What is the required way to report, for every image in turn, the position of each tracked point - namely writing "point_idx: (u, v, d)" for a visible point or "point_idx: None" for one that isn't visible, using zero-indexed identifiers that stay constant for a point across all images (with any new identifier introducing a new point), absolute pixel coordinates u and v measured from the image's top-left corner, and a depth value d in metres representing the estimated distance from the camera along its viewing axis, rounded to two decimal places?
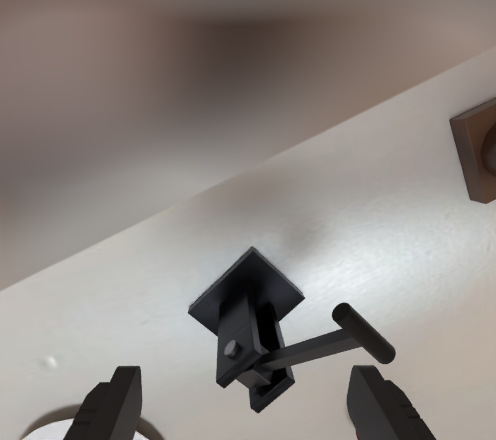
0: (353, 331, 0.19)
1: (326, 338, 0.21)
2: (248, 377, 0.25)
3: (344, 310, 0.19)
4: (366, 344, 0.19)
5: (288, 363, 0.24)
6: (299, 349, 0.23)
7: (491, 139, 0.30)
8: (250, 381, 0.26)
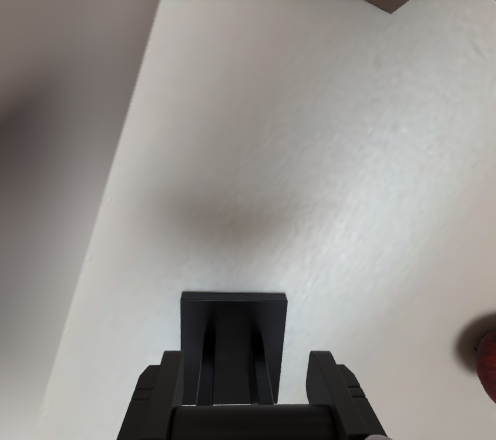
0: None
1: None
2: None
3: None
4: None
5: None
6: None
7: None
8: None
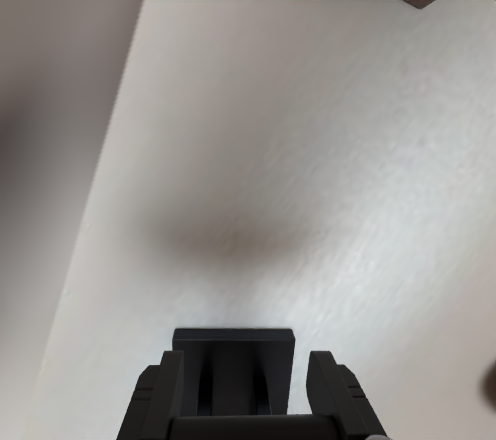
0: None
1: None
2: None
3: None
4: None
5: None
6: None
7: None
8: None
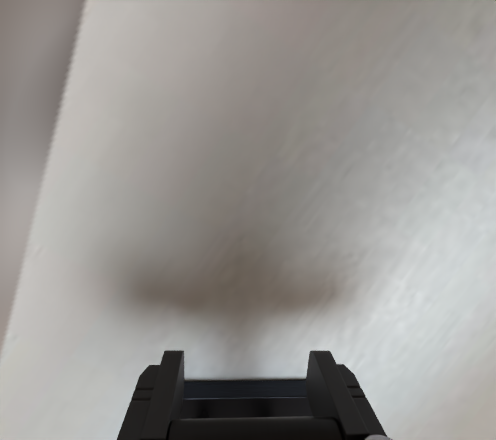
0: None
1: None
2: None
3: None
4: None
5: None
6: None
7: None
8: None
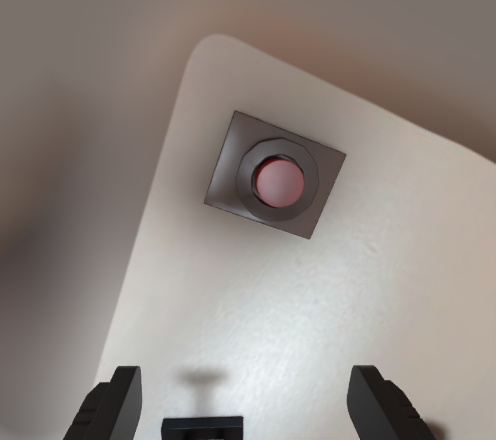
0: None
1: None
2: None
3: None
4: None
5: None
6: None
7: None
8: None
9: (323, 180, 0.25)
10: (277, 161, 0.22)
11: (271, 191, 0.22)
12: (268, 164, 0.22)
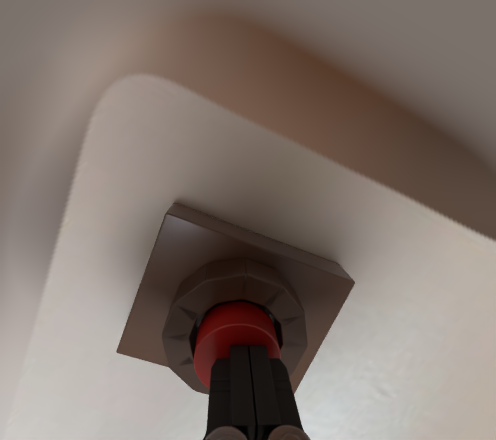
0: None
1: None
2: None
3: None
4: None
5: None
6: None
7: None
8: None
9: (315, 320, 0.16)
10: (232, 327, 0.12)
11: None
12: (215, 331, 0.12)
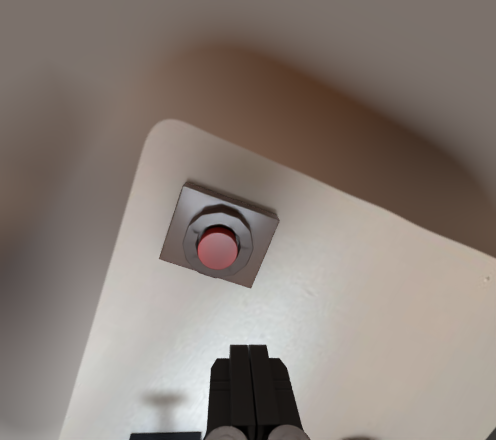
0: None
1: None
2: None
3: None
4: None
5: None
6: None
7: None
8: None
9: (260, 240, 0.30)
10: (214, 234, 0.26)
11: (210, 257, 0.27)
12: (206, 236, 0.26)
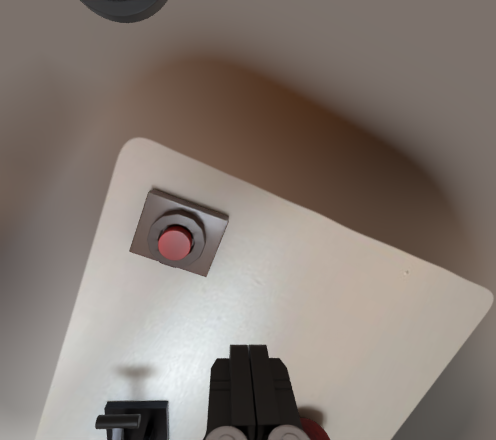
0: (106, 424, 0.36)
1: None
2: None
3: None
4: (118, 424, 0.36)
5: None
6: None
7: None
8: None
9: (213, 237, 0.37)
10: (171, 231, 0.33)
11: (168, 250, 0.33)
12: (165, 233, 0.33)
